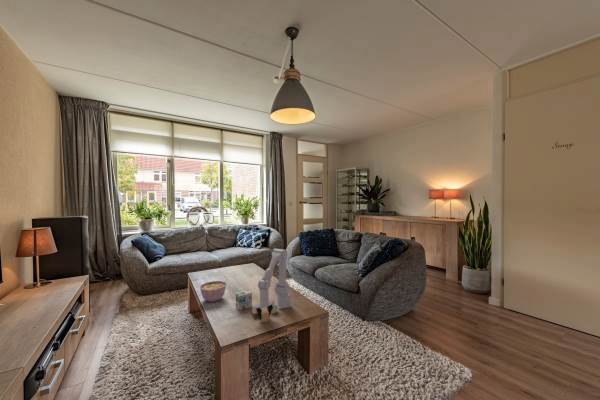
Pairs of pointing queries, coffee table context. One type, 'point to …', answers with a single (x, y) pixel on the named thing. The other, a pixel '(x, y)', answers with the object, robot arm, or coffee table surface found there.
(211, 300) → the bowl of food
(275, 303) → the sage cube
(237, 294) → the light bulb box
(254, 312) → the walnut base
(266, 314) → the terracotta cube
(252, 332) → the coffee table surface
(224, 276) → the coffee table surface
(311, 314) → the coffee table surface
